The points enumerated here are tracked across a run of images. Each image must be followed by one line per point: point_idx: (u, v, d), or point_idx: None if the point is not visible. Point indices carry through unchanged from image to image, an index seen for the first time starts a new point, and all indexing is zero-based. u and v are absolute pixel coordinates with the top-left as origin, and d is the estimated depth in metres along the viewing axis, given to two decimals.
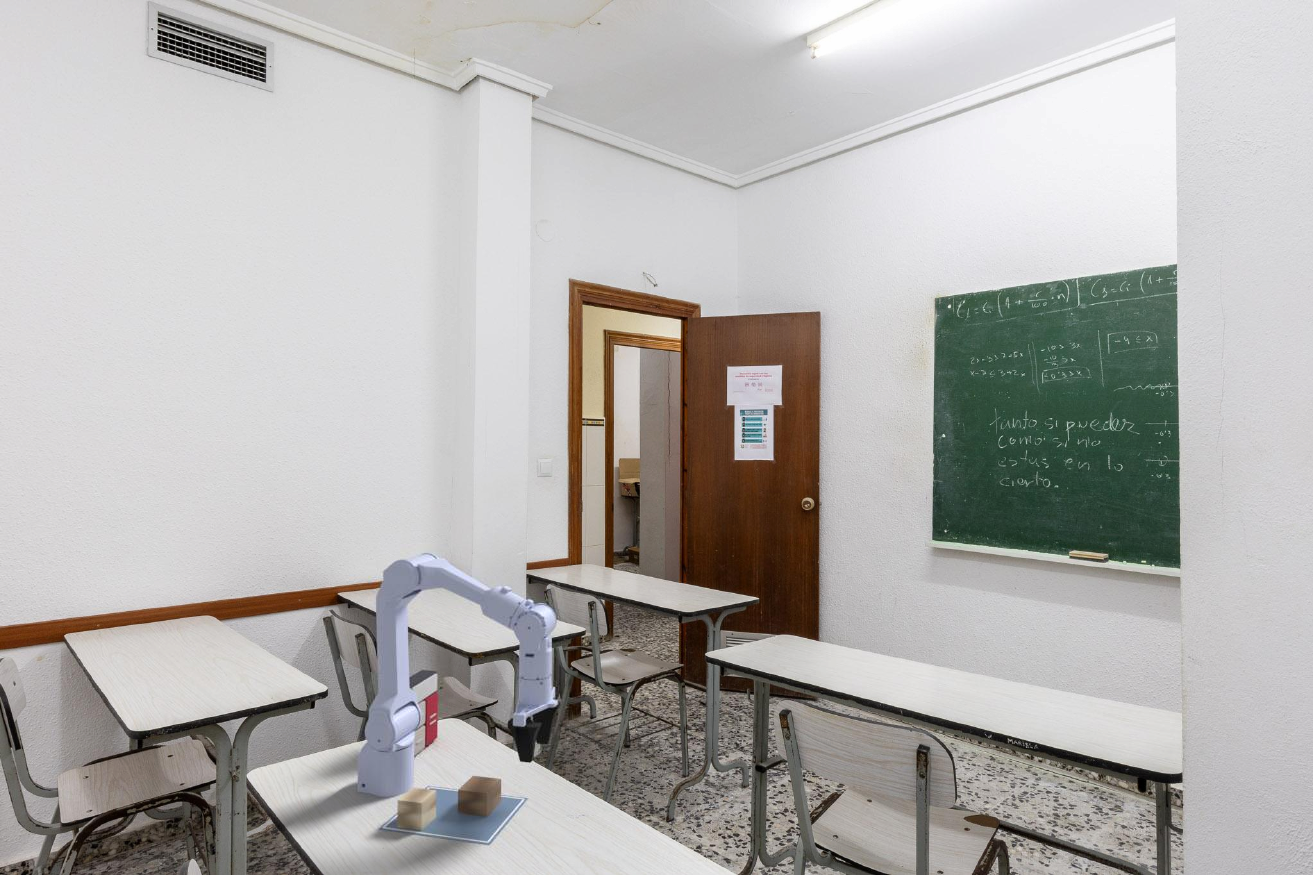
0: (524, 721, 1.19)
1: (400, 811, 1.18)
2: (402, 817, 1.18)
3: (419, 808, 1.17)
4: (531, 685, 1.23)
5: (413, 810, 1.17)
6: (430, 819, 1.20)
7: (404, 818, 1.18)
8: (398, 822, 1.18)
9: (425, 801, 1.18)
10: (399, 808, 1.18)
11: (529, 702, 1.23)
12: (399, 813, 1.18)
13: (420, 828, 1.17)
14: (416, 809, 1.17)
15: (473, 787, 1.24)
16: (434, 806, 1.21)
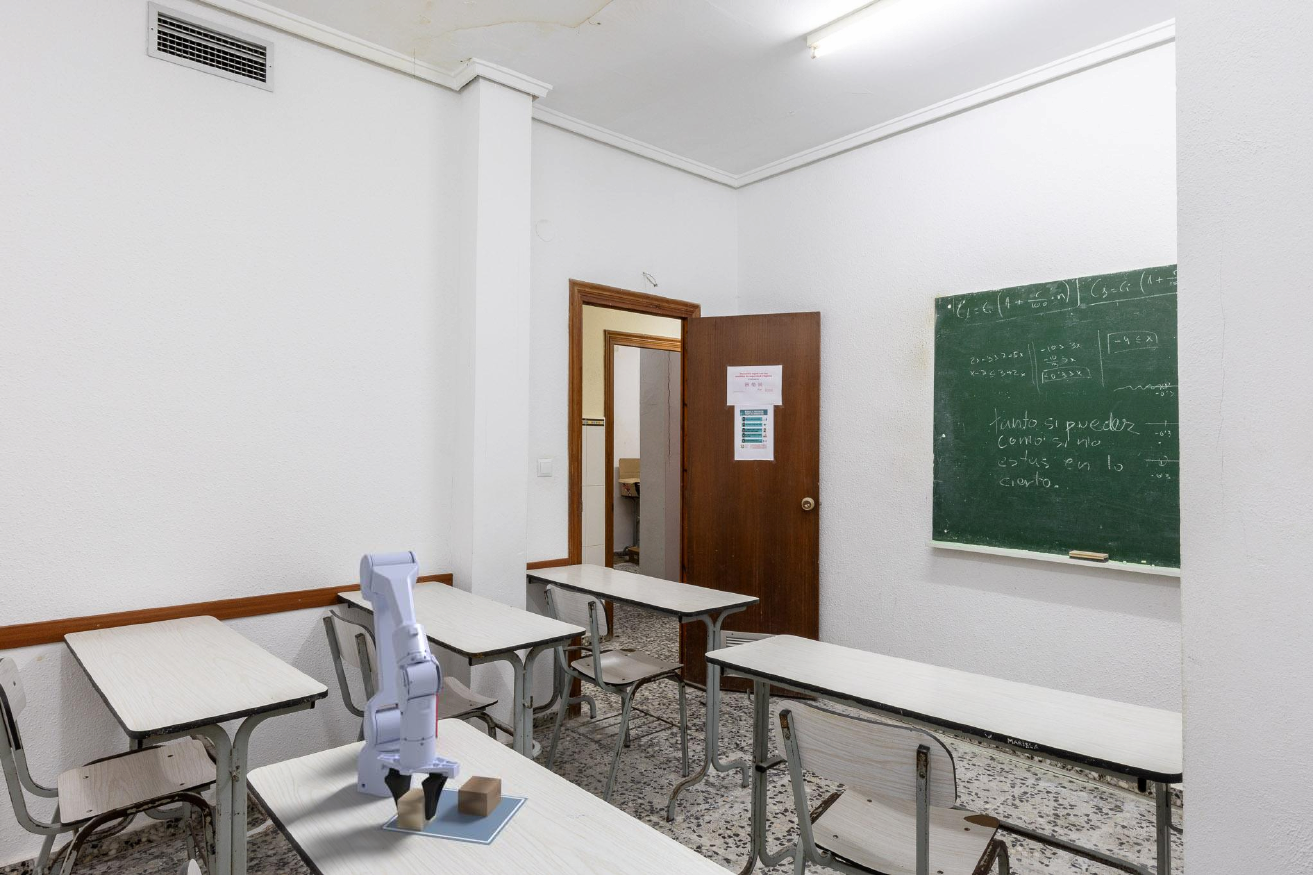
0: (377, 765, 1.20)
1: (400, 811, 1.18)
2: (402, 817, 1.18)
3: (419, 808, 1.17)
4: None
5: (413, 810, 1.17)
6: None
7: (404, 818, 1.18)
8: (398, 822, 1.18)
9: None
10: (399, 808, 1.18)
11: None
12: (399, 813, 1.18)
13: (420, 828, 1.17)
14: (416, 809, 1.17)
15: (473, 787, 1.24)
16: None
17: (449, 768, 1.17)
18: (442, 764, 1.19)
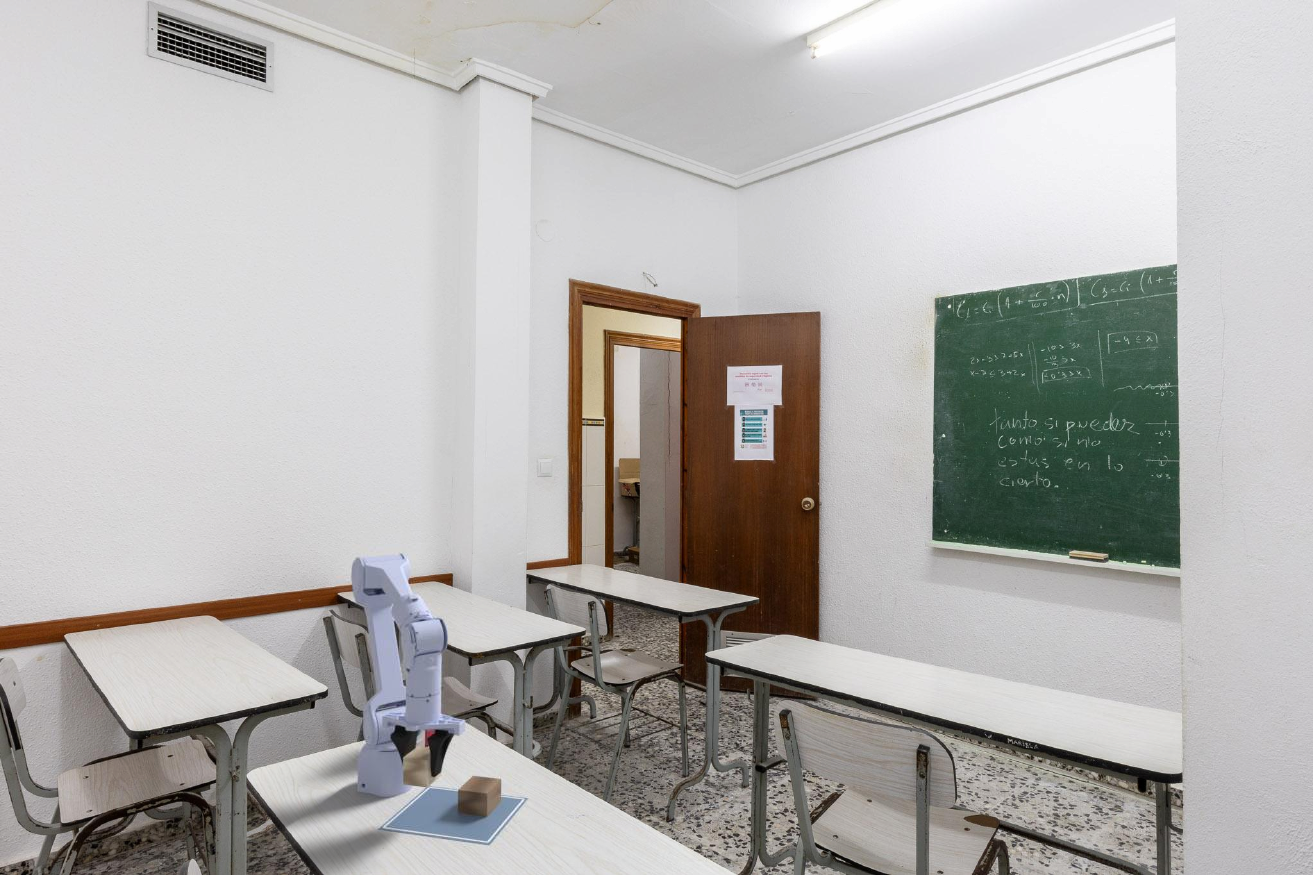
0: (383, 722, 1.21)
1: (406, 768, 1.18)
2: (407, 774, 1.18)
3: (424, 765, 1.18)
4: None
5: (419, 767, 1.18)
6: (435, 777, 1.20)
7: (410, 775, 1.18)
8: (404, 780, 1.18)
9: (430, 758, 1.19)
10: (405, 765, 1.18)
11: None
12: (405, 770, 1.18)
13: (425, 785, 1.17)
14: (421, 766, 1.18)
15: (473, 787, 1.24)
16: None
17: (455, 725, 1.18)
18: (448, 721, 1.19)
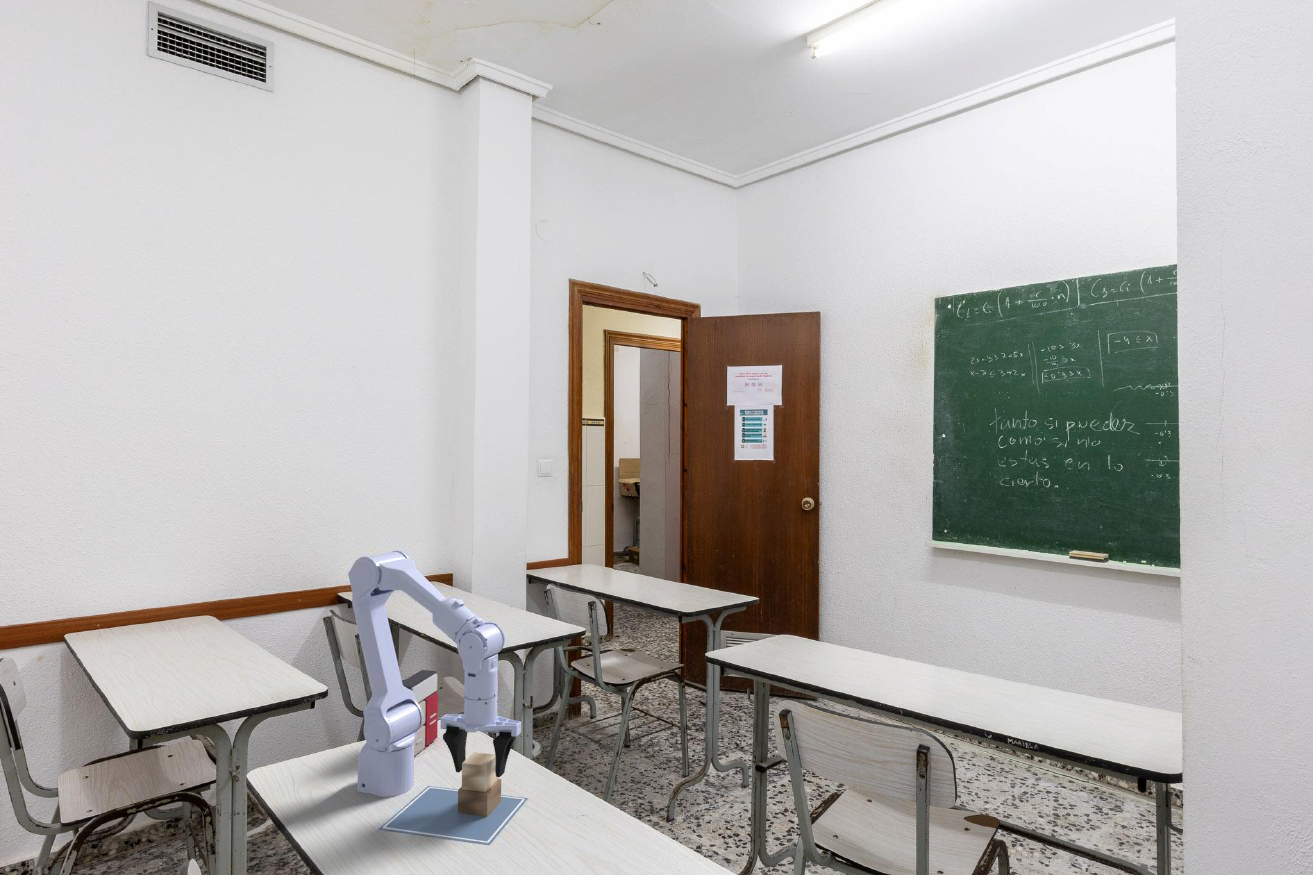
0: (441, 724, 1.26)
1: (464, 773, 1.23)
2: (466, 779, 1.23)
3: (483, 771, 1.22)
4: None
5: (477, 772, 1.22)
6: (492, 782, 1.25)
7: (468, 780, 1.23)
8: (463, 785, 1.23)
9: (488, 764, 1.23)
10: (463, 771, 1.23)
11: None
12: (464, 775, 1.23)
13: (484, 790, 1.22)
14: (480, 771, 1.22)
15: None
16: None
17: (512, 726, 1.23)
18: (505, 723, 1.24)
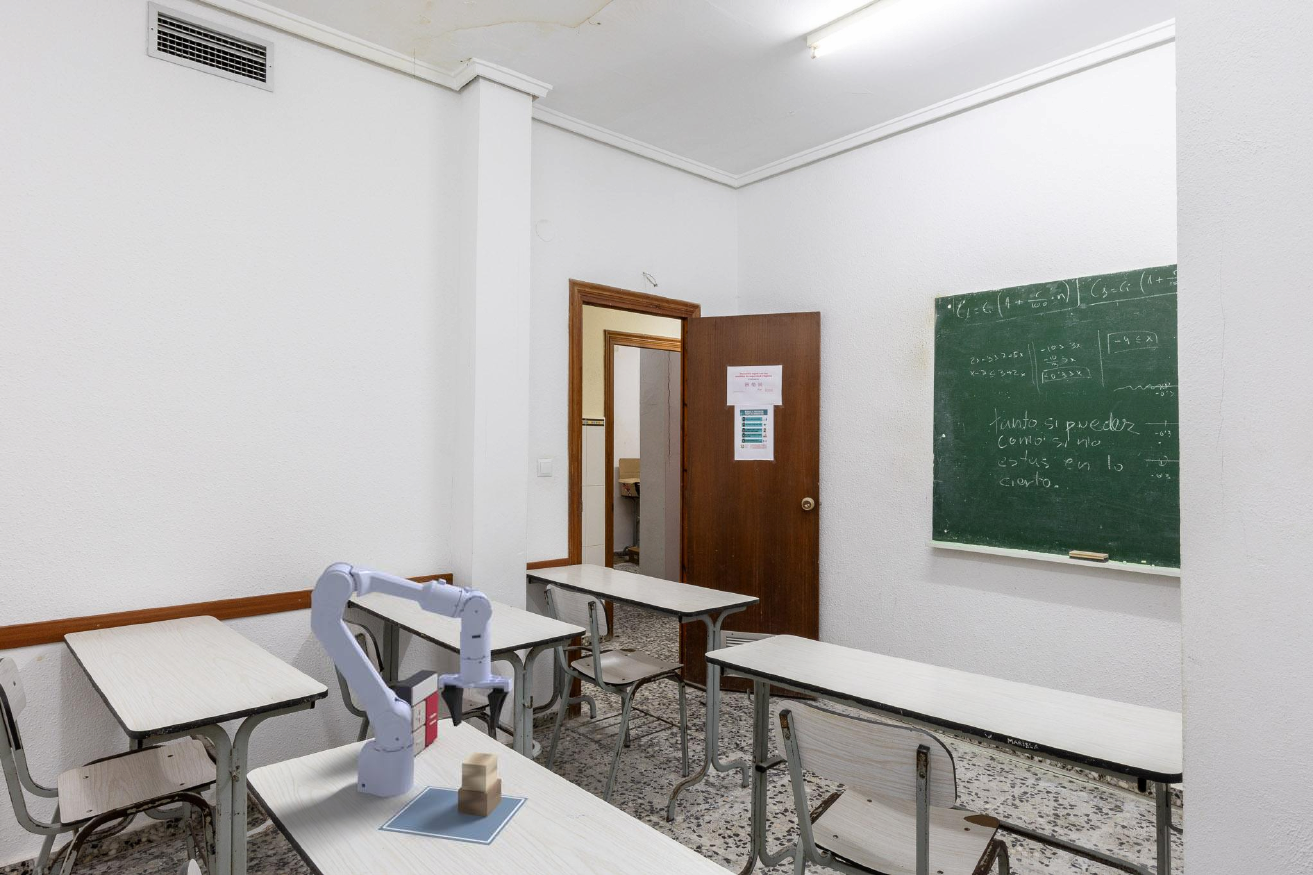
0: (439, 683, 1.37)
1: (464, 773, 1.23)
2: (466, 779, 1.23)
3: (483, 771, 1.22)
4: None
5: (477, 772, 1.22)
6: (492, 782, 1.25)
7: (468, 780, 1.23)
8: (463, 785, 1.23)
9: (488, 764, 1.23)
10: (463, 771, 1.23)
11: None
12: (464, 775, 1.23)
13: (484, 790, 1.22)
14: (480, 771, 1.22)
15: None
16: (495, 770, 1.26)
17: (504, 682, 1.35)
18: (498, 680, 1.36)
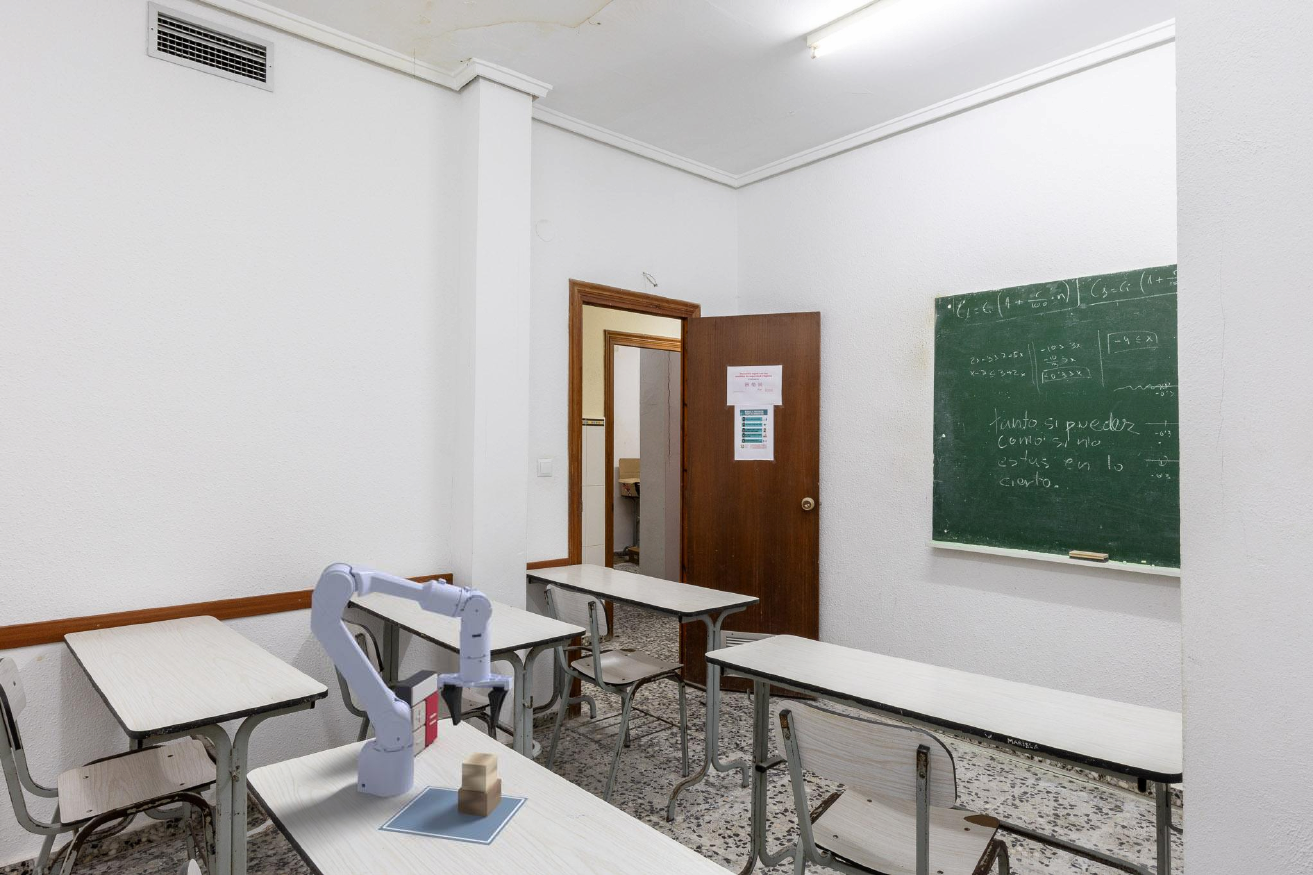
0: (439, 683, 1.38)
1: (464, 773, 1.23)
2: (466, 779, 1.23)
3: (483, 771, 1.22)
4: None
5: (477, 772, 1.22)
6: (492, 782, 1.25)
7: (468, 780, 1.23)
8: (463, 785, 1.23)
9: (488, 764, 1.23)
10: (463, 771, 1.23)
11: None
12: (464, 775, 1.23)
13: (484, 790, 1.22)
14: (480, 771, 1.22)
15: None
16: (495, 770, 1.26)
17: (505, 681, 1.35)
18: (498, 678, 1.36)
